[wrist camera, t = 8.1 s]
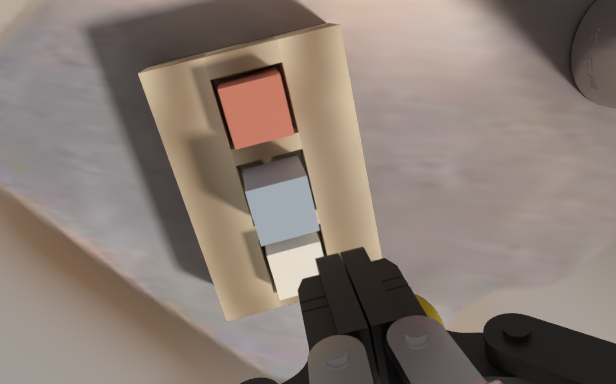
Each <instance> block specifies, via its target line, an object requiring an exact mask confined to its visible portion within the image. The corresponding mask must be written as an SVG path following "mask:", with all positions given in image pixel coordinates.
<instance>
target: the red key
mask: <svg viewBox="0 0 616 384" xmlns="http://www.w3.org/2000/svg"><path fill="white" fill-rule="evenodd" d="M218 93H219V96H220V100H221V103H222V106H223V110H224V113H225V116H226V120H227V123H228V127H229V130H230V133H231V137H232V140H233V143H234V147H235V150H237V149H240V148H244V147H248V146H252V145H256V144H260V143H264V142H268V141H272V140H275V139H279V138H283V137H287V136H291V135H295V134H294V130H293V126H292V122H291V117H290V113H289V109H288V105H287V101H286V96H285V92H284V88H283V84H282V80H281V75H280V73H279V72H278V71H277V69H276V68H275V67H270V68H266V69H262V70H257V71H253V72H249V73H245V74H241V75H237V76H233V77H229V78H225V79H221V80H219V85H218Z"/></svg>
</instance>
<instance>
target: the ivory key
mask: <svg viewBox="0 0 616 384" xmlns="http://www.w3.org/2000/svg"><path fill="white" fill-rule="evenodd" d="M265 247H266V254H267V258H268V262H269V265H270V269H271V272H272V275H273V279H274V282H275V286H276V289H277V292H278V296H279V299H280V300H283V299H287V298H291V297H294V296H298V288H299V286H300V283H301V281H302V279H304V278H308V277H312V276H316V275H319V273H318V269H317V265H316V260H315V258H319V257H323V252H322V247H321V243H320V240H319V237H318V235H317V232H313V233H309V234H305V235H302V236H298V237H294V238H291V239H287V240H283V241H280V242H276V243H272V244H269V245H265Z"/></svg>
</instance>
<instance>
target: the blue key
mask: <svg viewBox="0 0 616 384" xmlns="http://www.w3.org/2000/svg"><path fill="white" fill-rule="evenodd" d="M243 171H244V186H245V194H246V197H247V201H248V204H249V207H250V211H251V214H252V217H253V221H254V224H255V227H256V231H257V234H258V237H259V241H260V244H261V246H265V245H269V244H272V243H276V242H280V241H283V240H287V239H291V238H294V237H298V236H302V235H305V234H309V233H313V232H317V231H320V229H319V225H318V221H317V216H316V212H315V208H314V204H313V199H312V195H311V191H310V187H309V182H308V178H307V175H306V173H305V170H304V168H303V166H302V164H301V162H300V159H299V157H298V155H297V156H293V157H289V158H285V159H281V160H278V161H274V162H270V163H266V164H262V165H258V166H255V167H251V168H247V169H243Z"/></svg>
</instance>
